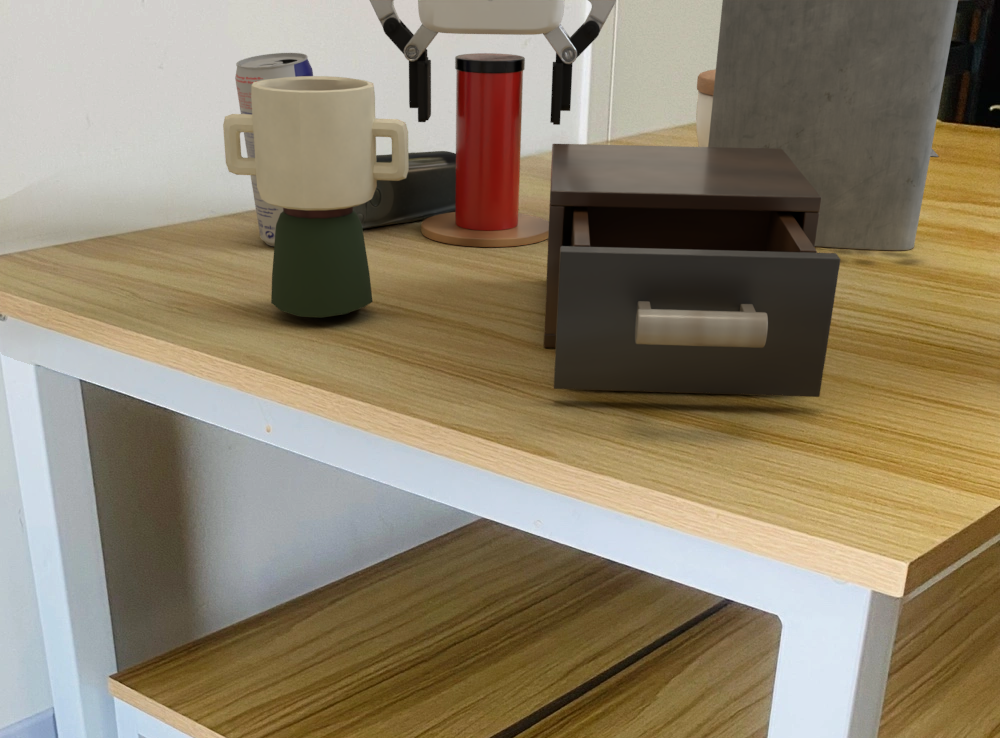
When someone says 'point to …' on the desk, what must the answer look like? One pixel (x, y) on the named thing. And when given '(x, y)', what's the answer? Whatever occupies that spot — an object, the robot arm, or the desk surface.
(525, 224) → the coaster
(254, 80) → the energy drink
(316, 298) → the beige green vessel
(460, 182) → the tin
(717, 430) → the desk surface
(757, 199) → the cabinet
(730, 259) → the drawer
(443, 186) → the dark grey stapler
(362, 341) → the desk surface
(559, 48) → the robot arm
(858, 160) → the grey upright slab
